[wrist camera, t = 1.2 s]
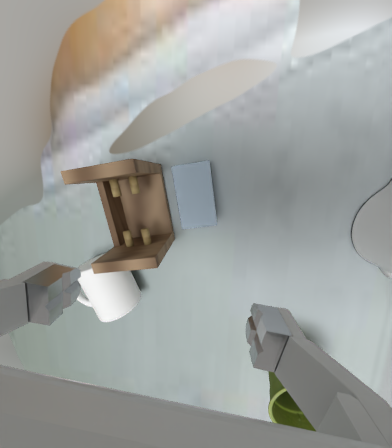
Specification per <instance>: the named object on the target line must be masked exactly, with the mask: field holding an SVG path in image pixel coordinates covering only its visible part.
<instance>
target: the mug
mask: <svg viewBox="0 0 392 448" xmlns="http://www.w3.org/2000/svg"><path fill="white" fill-rule="evenodd" d="M104 254H105V253H104ZM104 254H101V255H99V256H97V257H95V258H93V259H91V260H89V261H87V262H85V263H84V264H82V265H81V266H79V267H78V268H79V269H80V270H81V277H80V278H79V279H78V281H79V283H80V285H81V287H82V288H83V290H84V292H85V294H86V296H87V298H86V297H85V296H84V295H83V294H82V292H81V291H80V294H79V296H78V298H77V300H78V301H80V302H81V303H83V304H84V305H86V306H89V307H93V308H94V310H95V312H96V314H97V316H98V317H99V319H100V321H102V322H110V321H114V320H116V319H119V318H121V317H122V316H124V315H126V314H127V313H129V312H130V311H131V310H132V309H133V308H134V307H135V306H136V305H137V304H138V303H139V301H140V299H141V292H140V290H139V288H138V286H137V284H136V281H135V279H134V277H133V275H132V273H131V271H120V272H109V273H99V274H94V272H93V269H92V266H91V263H93V262H94V261H96V260H97V259H98V258H100V257H101V256H102V255H104Z"/></svg>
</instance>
